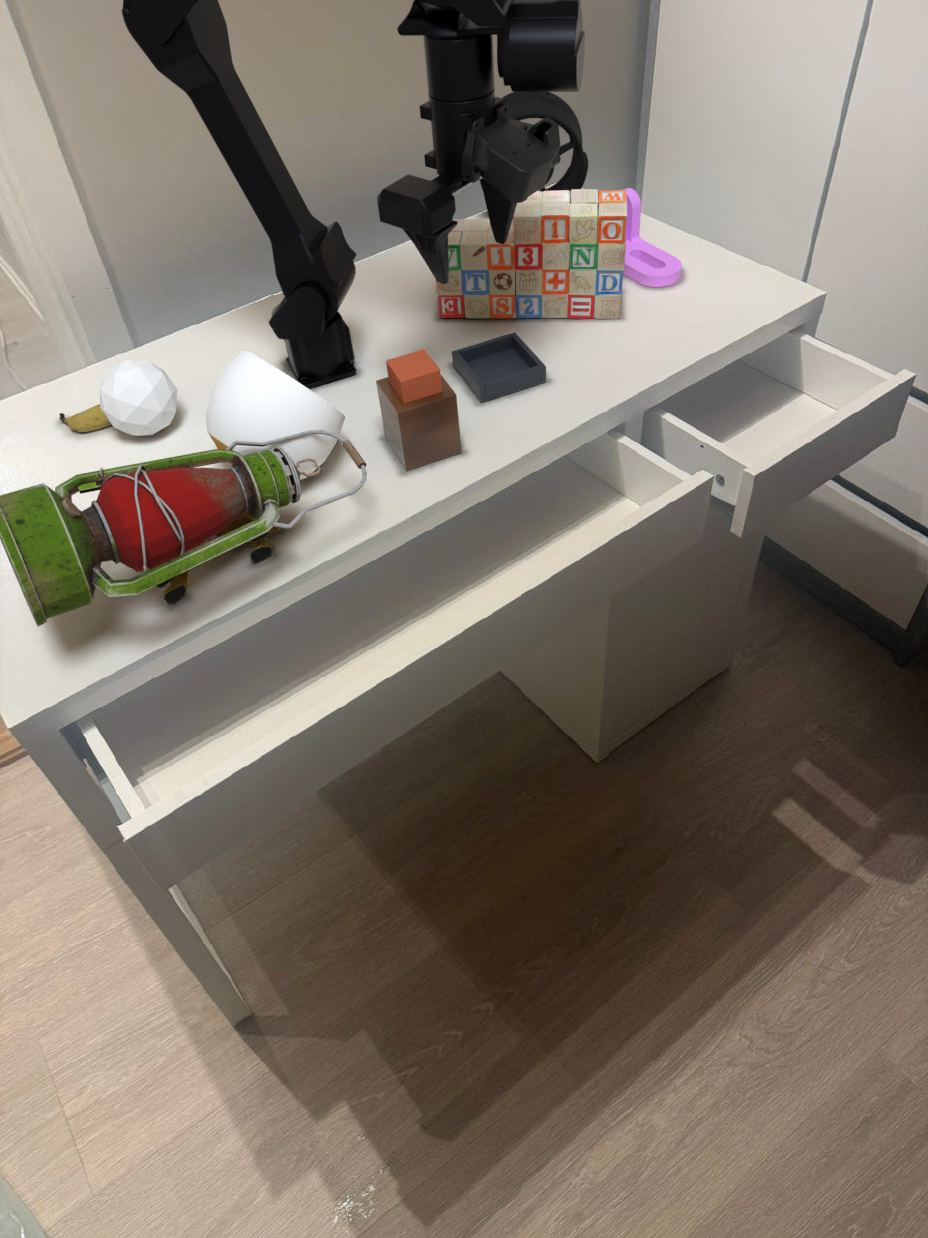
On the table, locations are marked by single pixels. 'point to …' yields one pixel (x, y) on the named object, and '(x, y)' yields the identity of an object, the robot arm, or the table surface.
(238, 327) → the table surface
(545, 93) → the black spoked wheel
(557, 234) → the stack of blocks
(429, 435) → the brown wooden cube
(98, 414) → the banana
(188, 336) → the table surface
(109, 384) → the geometric ball
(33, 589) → the lantern
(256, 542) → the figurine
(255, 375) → the cup
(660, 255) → the bracket
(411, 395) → the orange square block
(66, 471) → the table surface
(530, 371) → the dark gray square tray
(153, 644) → the table surface
